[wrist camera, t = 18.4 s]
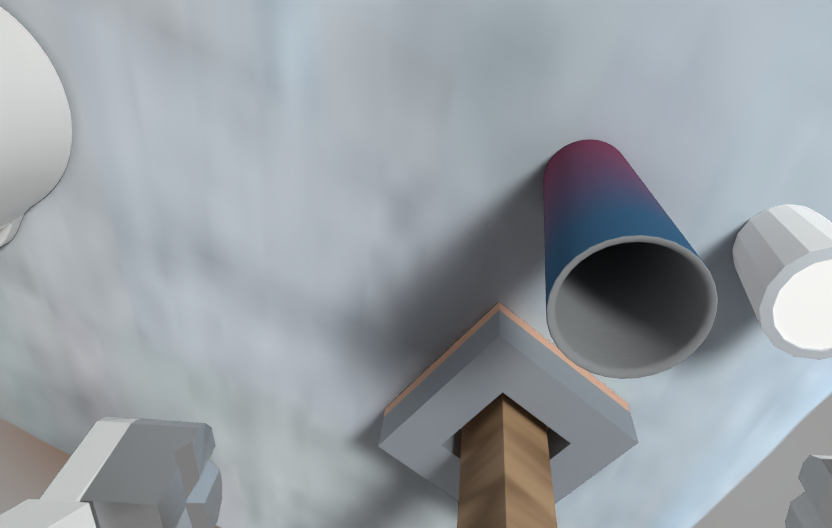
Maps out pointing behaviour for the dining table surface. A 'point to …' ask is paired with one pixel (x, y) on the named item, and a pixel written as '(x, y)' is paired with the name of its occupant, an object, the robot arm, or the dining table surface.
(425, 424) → the end cap
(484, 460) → the block
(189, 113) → the dining table surface
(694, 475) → the dining table surface
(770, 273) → the shot glass
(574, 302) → the cup
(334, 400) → the dining table surface
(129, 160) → the dining table surface
